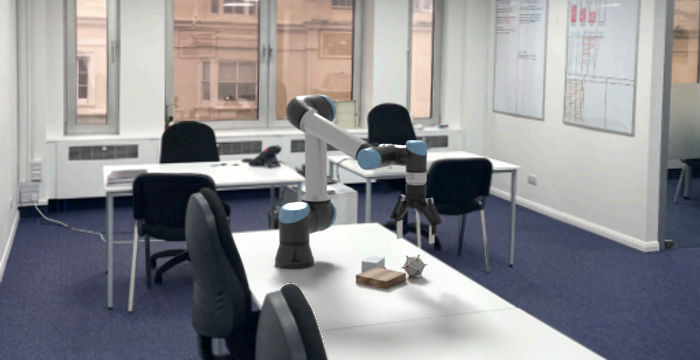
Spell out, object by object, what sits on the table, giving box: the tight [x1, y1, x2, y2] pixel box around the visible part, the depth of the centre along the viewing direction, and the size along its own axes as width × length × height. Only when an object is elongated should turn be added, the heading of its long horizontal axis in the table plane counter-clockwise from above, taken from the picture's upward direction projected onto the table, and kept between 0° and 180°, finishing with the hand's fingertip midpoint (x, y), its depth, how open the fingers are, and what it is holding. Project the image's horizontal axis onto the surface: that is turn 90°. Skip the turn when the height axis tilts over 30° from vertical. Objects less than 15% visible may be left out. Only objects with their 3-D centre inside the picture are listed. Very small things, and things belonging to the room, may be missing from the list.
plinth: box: [355, 267, 407, 291], centre depth 292 cm, size 13×13×3 cm
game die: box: [400, 254, 428, 279], centre depth 299 cm, size 9×8×10 cm
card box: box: [361, 255, 386, 272], centre depth 310 cm, size 6×9×4 cm, turn 157°
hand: (415, 240), depth 297 cm, fingers open, 13 cm apart
